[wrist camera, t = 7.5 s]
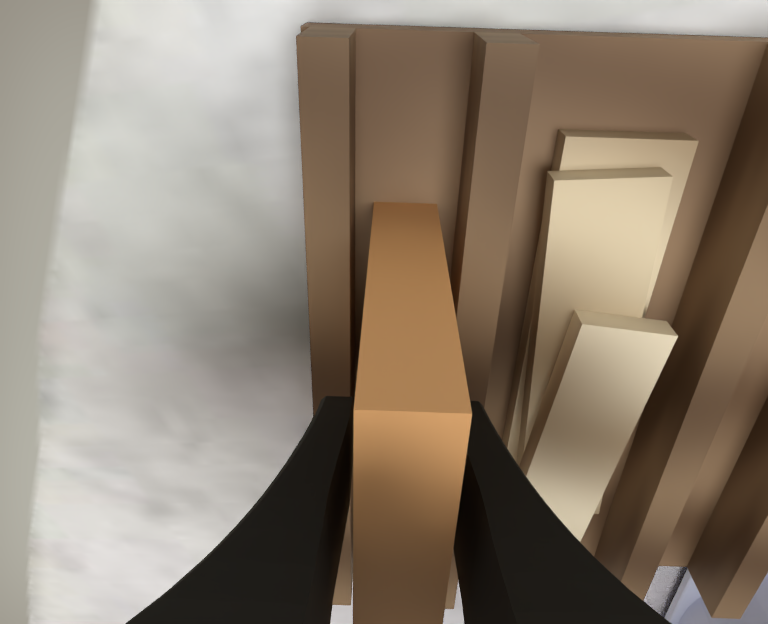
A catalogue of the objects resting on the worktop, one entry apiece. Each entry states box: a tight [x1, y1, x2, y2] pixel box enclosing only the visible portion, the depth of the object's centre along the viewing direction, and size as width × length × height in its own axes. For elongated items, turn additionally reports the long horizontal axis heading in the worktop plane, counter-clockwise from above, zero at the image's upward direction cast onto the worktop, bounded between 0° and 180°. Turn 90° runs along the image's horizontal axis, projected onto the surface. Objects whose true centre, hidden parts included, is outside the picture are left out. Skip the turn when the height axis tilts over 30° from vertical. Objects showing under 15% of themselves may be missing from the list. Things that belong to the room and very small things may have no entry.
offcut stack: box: [502, 129, 699, 541], centre depth 16 cm, size 14×4×2 cm, turn 178°
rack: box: [296, 23, 768, 619], centre depth 17 cm, size 18×16×3 cm
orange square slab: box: [353, 202, 472, 624], centre depth 13 cm, size 8×2×8 cm, turn 178°
